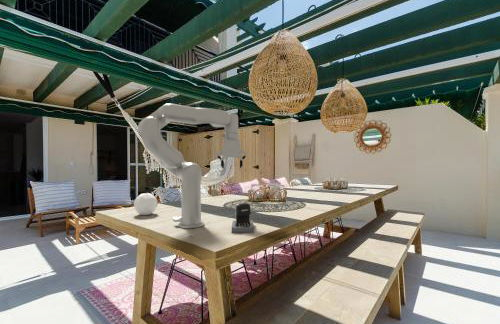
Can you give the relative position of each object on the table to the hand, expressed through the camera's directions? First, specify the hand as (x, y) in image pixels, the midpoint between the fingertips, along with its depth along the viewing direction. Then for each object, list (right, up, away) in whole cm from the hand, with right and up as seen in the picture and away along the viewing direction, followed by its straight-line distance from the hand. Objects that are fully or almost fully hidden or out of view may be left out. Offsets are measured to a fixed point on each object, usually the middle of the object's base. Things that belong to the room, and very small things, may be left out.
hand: (231, 167), depth 143 cm
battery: (+7, -28, -20) cm, 35 cm away
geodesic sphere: (-53, -29, +14) cm, 62 cm away
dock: (+7, -29, -19) cm, 35 cm away
